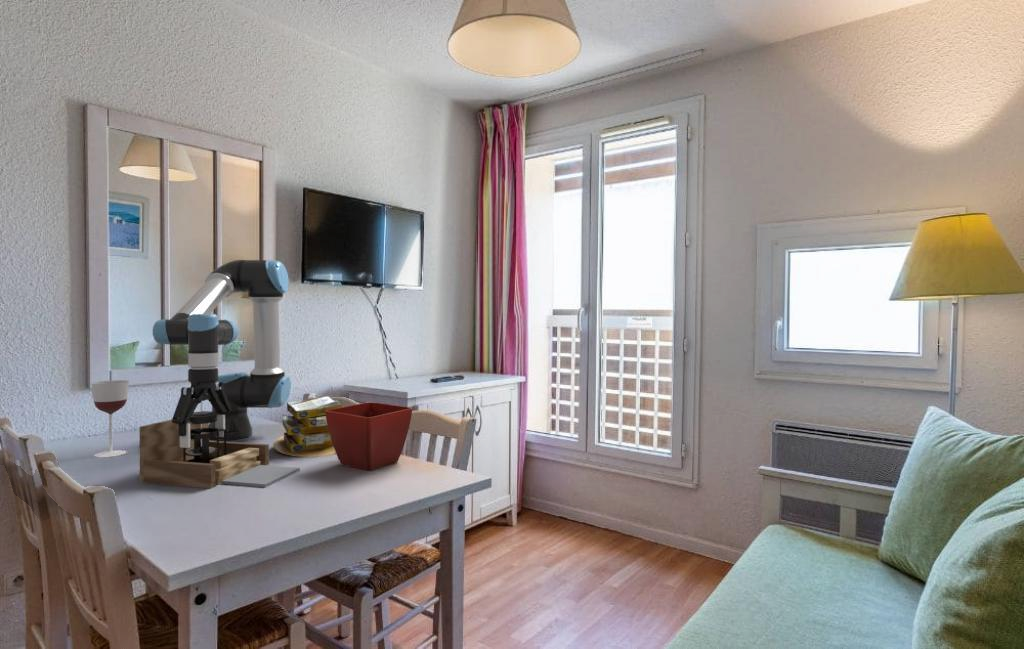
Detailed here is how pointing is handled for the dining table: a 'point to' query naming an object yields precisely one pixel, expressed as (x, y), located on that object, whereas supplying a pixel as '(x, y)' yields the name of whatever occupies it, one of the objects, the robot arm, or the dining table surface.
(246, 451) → the offcut stack
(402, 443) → the plant pot
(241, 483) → the slate mat
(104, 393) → the wineglass
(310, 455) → the stacked boxes on plate
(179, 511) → the dining table surface
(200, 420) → the french press
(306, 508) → the dining table surface
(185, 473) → the wooden box
